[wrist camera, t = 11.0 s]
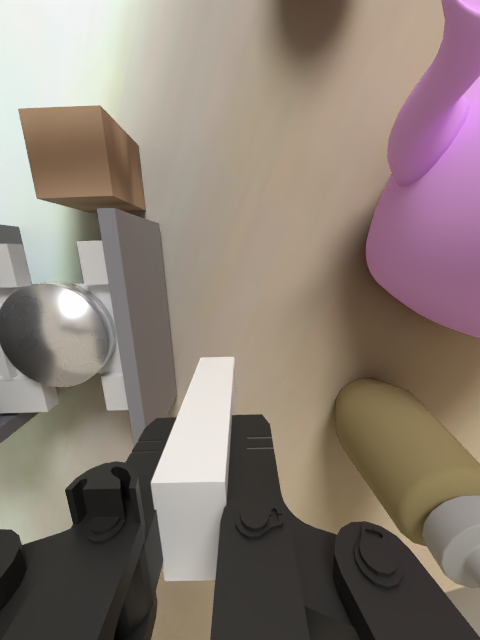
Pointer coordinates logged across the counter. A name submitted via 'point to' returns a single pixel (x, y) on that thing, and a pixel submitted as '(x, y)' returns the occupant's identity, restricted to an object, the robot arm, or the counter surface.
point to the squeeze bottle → (415, 472)
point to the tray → (128, 316)
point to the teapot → (436, 185)
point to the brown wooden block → (82, 158)
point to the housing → (10, 422)
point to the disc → (56, 333)
